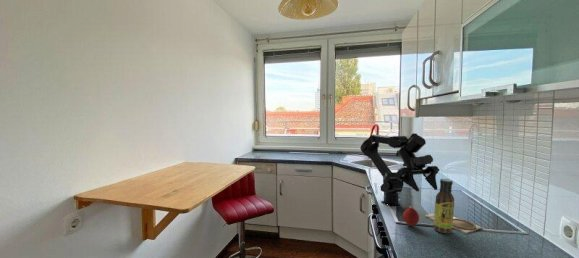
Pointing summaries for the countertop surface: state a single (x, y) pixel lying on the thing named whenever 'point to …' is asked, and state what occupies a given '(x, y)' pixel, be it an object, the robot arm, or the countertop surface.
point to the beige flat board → (460, 224)
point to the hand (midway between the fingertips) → (427, 190)
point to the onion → (410, 216)
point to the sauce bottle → (444, 207)
